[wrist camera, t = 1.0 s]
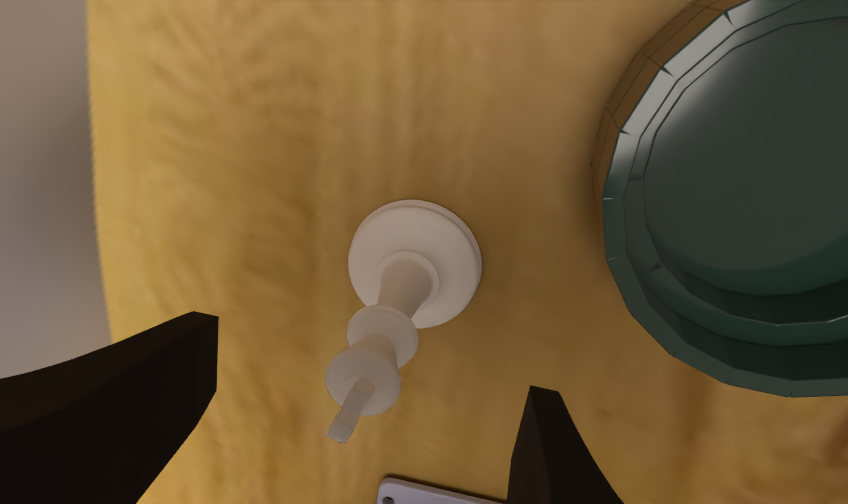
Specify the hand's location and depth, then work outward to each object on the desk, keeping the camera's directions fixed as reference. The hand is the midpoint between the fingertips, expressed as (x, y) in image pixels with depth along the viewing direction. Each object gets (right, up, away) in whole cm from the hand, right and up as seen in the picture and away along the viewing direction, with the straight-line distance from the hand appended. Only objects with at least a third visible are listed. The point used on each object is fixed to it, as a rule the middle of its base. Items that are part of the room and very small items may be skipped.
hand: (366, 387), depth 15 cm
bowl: (+13, +6, +6) cm, 15 cm away
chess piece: (+1, +3, +10) cm, 10 cm away
